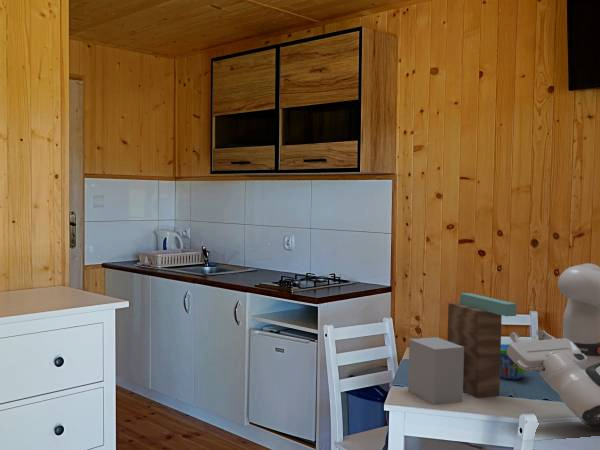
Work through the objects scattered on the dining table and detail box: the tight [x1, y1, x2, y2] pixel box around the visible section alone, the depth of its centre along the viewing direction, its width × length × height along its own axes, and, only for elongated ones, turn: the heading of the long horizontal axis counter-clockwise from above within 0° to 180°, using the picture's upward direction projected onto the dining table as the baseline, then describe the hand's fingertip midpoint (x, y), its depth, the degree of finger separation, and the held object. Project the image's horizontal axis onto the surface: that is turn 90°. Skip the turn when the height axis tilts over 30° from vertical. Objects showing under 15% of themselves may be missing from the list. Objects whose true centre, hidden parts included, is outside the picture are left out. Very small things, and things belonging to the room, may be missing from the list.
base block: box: [407, 336, 464, 405], centre depth 190 cm, size 14×10×16 cm
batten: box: [459, 292, 517, 317], centre depth 191 cm, size 22×4×4 cm, turn 21°
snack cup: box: [500, 343, 526, 381], centre depth 212 cm, size 16×10×10 cm
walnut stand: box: [446, 302, 503, 399], centre depth 197 cm, size 16×8×26 cm, turn 21°
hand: (526, 332), depth 174 cm, fingers open, 8 cm apart
